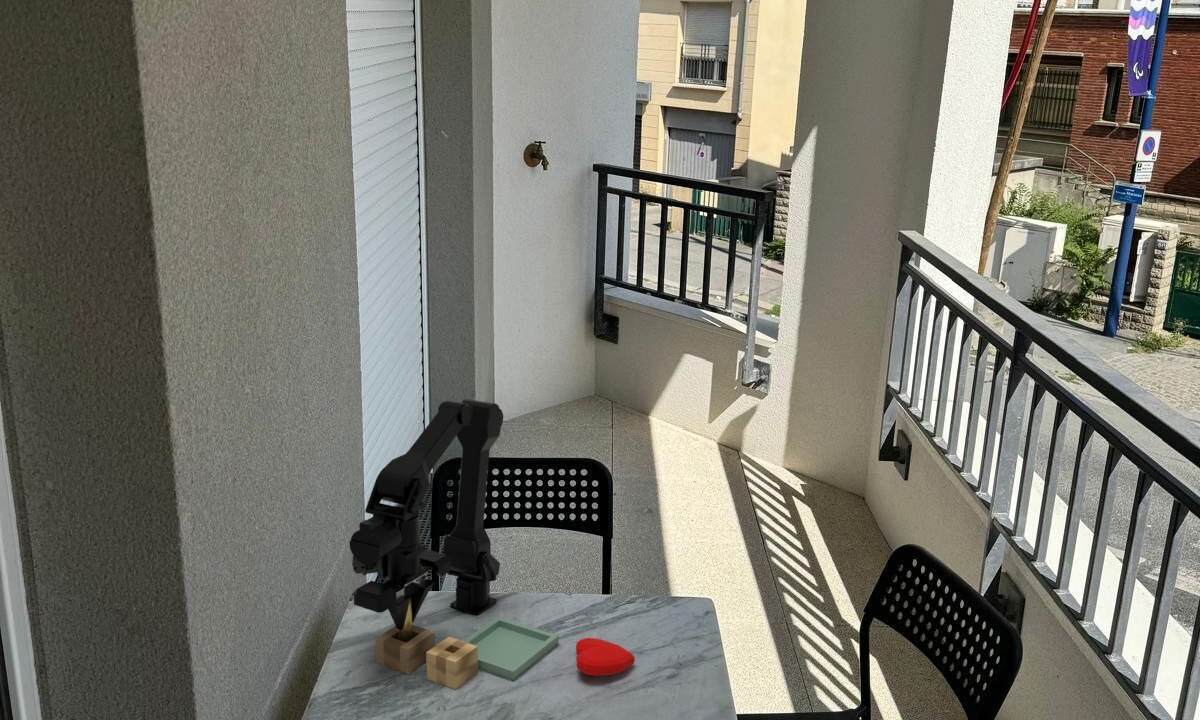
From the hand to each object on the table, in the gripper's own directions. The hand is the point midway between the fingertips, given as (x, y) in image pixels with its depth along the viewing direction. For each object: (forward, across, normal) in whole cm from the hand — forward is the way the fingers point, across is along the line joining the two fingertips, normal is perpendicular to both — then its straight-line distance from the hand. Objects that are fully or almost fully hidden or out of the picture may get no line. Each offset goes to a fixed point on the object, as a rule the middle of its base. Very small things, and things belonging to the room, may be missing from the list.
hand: (405, 625), depth 185 cm
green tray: (+6, -11, +13) cm, 18 cm away
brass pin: (+3, 0, 0) cm, 3 cm away
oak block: (+6, 0, +10) cm, 12 cm away
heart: (+7, -16, +30) cm, 35 cm away
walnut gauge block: (+6, 0, 0) cm, 6 cm away
